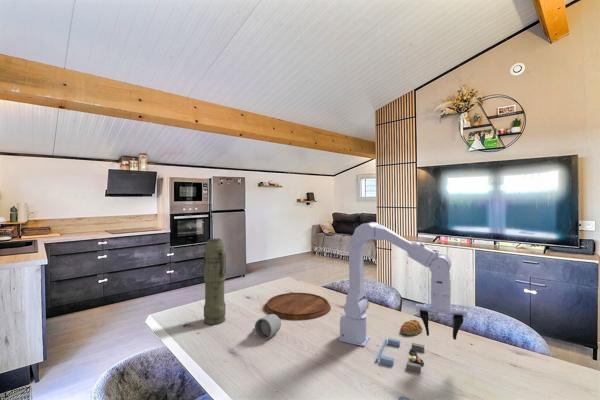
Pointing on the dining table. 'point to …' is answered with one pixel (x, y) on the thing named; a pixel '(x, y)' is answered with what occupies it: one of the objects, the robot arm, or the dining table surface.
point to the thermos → (214, 282)
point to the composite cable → (415, 358)
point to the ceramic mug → (267, 326)
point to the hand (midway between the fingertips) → (440, 336)
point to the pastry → (411, 327)
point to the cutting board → (297, 306)
